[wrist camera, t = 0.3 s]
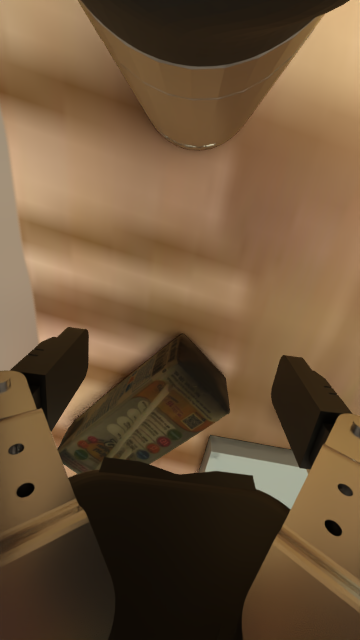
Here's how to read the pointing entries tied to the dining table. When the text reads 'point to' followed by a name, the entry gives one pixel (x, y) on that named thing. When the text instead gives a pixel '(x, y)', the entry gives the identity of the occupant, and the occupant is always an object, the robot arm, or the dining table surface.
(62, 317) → the dining table surface
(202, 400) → the beverage carton
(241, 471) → the tray
